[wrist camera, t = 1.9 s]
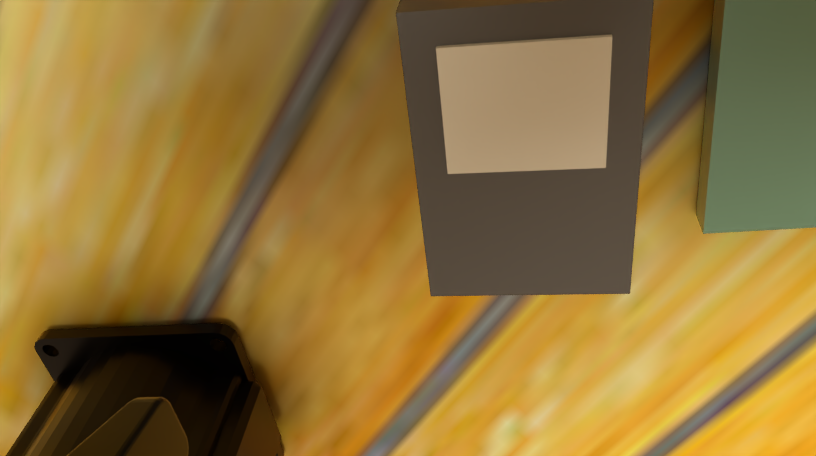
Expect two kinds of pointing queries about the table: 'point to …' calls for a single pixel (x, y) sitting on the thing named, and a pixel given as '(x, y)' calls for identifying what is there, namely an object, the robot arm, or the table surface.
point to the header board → (760, 118)
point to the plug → (526, 141)
